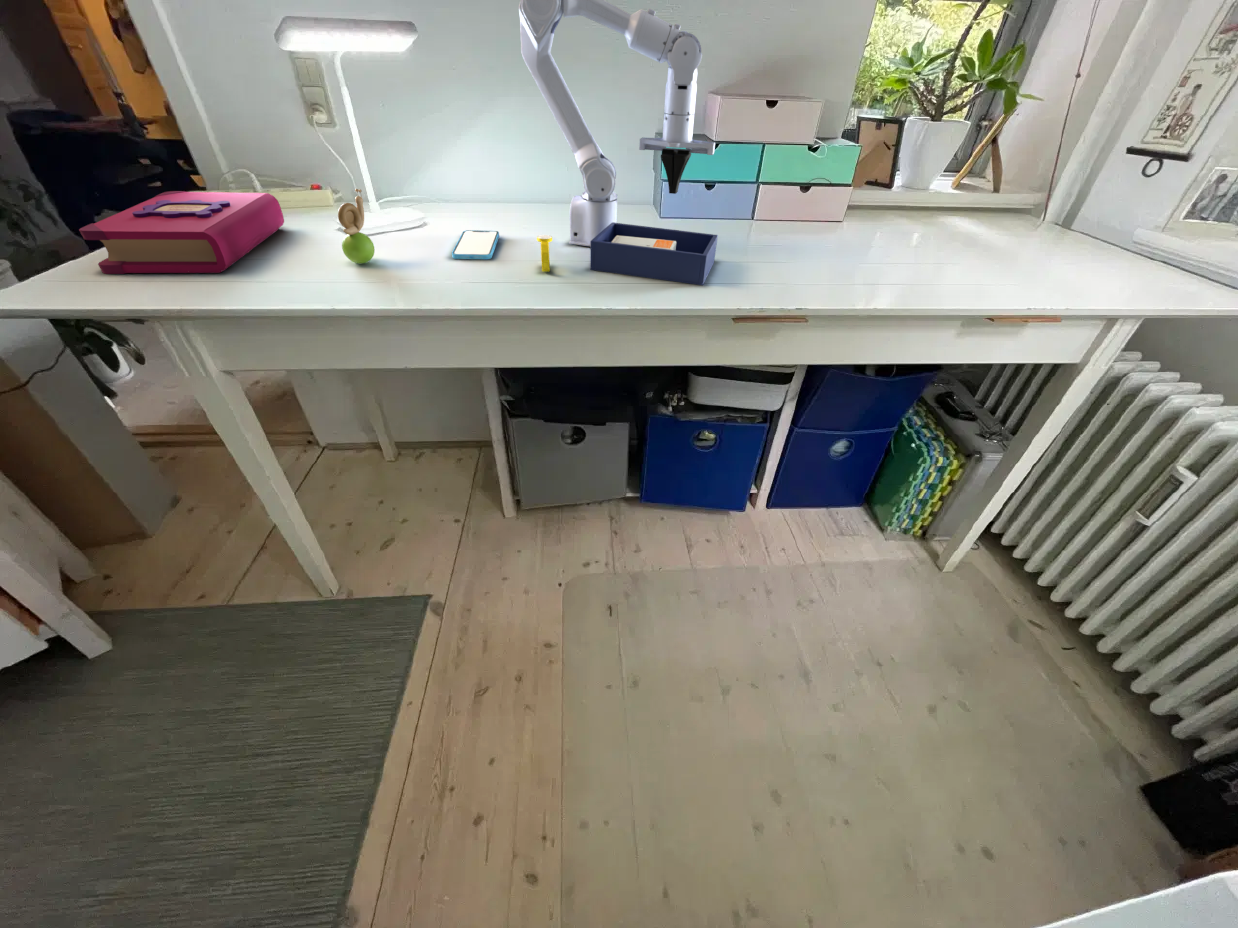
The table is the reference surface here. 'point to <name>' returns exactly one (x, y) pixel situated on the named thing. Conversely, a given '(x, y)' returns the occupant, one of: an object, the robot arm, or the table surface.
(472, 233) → the smartphone
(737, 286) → the table surface
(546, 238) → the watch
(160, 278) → the table surface
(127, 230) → the book
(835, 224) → the table surface
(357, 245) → the snail figurine
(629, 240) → the cosmetic box
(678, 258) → the bin
